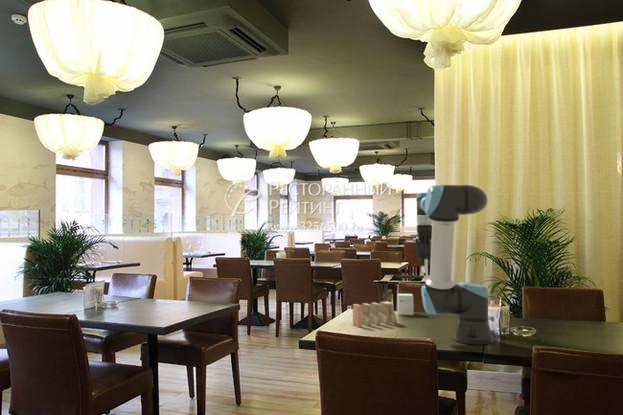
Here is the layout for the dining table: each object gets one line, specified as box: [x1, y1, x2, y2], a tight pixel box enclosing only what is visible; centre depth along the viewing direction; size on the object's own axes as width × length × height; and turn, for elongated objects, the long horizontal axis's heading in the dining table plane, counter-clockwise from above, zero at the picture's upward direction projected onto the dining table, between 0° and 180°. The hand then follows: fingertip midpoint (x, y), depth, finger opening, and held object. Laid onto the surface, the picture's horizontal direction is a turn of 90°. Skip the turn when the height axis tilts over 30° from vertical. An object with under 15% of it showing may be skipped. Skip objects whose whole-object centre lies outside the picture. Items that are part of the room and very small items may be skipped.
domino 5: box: [385, 300, 398, 324], centre depth 246 cm, size 2×5×10 cm, turn 25°
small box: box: [397, 293, 415, 316], centre depth 268 cm, size 8×6×10 cm
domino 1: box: [352, 303, 363, 328], centre depth 239 cm, size 2×5×10 cm, turn 25°
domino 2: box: [361, 302, 372, 327], centre depth 241 cm, size 2×5×10 cm, turn 25°
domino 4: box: [379, 301, 390, 325], centre depth 245 cm, size 2×5×10 cm, turn 25°
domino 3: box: [370, 302, 381, 326], centre depth 243 cm, size 2×5×10 cm, turn 25°
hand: (424, 272), depth 247 cm, fingers closed
